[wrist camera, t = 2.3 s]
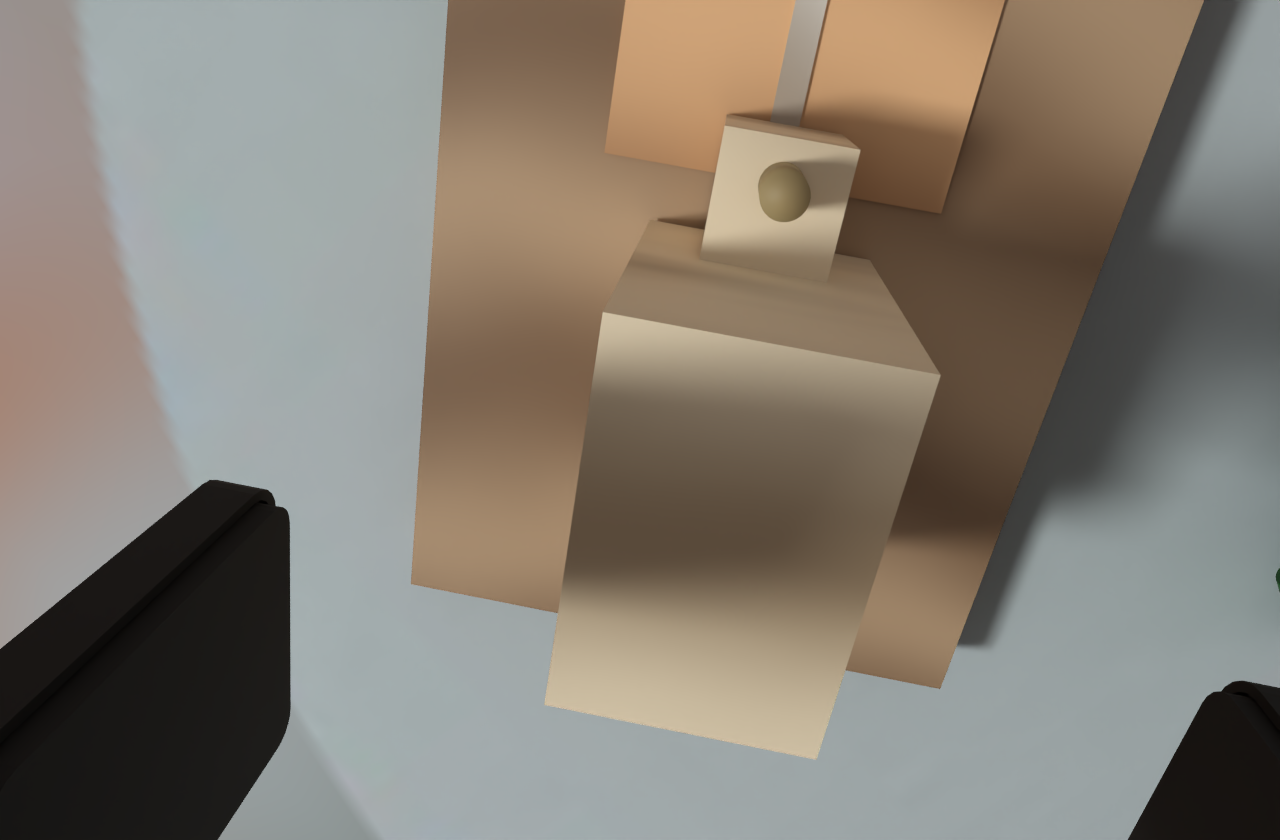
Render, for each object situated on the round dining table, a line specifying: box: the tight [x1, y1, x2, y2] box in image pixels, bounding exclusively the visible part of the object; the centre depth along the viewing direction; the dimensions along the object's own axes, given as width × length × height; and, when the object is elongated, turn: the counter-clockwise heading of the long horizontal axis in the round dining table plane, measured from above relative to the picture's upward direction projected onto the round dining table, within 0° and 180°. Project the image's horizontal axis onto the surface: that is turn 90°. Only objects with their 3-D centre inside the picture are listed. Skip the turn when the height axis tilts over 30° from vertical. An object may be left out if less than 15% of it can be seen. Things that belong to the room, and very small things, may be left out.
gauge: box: [544, 114, 941, 759], centre depth 14 cm, size 10×4×6 cm, turn 171°
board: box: [411, 0, 1204, 689], centre depth 16 cm, size 22×12×2 cm, turn 171°
